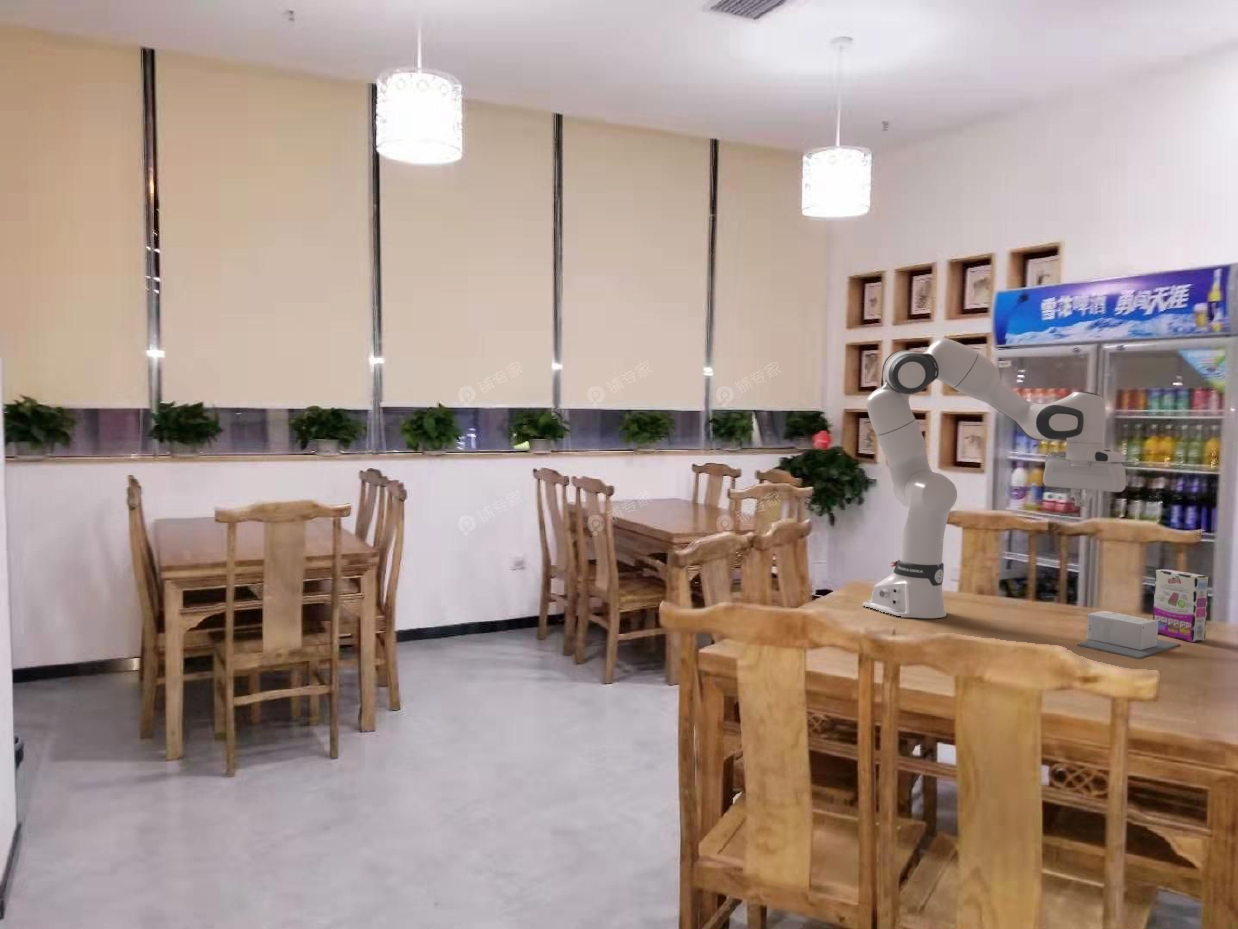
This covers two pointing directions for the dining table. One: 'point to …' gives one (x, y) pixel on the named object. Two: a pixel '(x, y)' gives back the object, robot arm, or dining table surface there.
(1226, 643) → the dining table surface
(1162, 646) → the mat
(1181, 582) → the candy bar box
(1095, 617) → the small box
